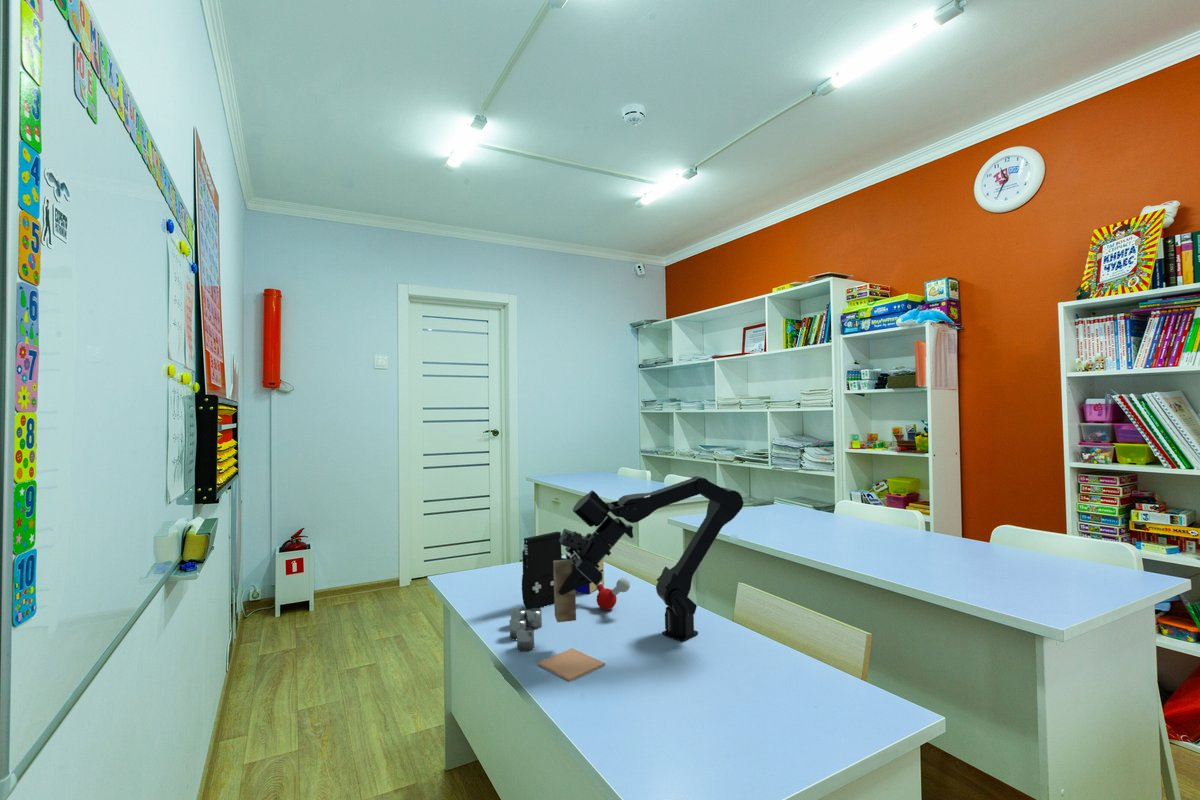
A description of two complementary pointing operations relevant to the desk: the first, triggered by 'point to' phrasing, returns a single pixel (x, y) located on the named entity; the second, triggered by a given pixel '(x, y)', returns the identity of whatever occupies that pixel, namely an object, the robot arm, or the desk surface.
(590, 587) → the puzzle cube
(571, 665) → the rubber pad
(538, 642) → the desk surface
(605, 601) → the molecular model
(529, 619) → the metal spacers
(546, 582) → the handheld gaming console
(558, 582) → the walnut post
